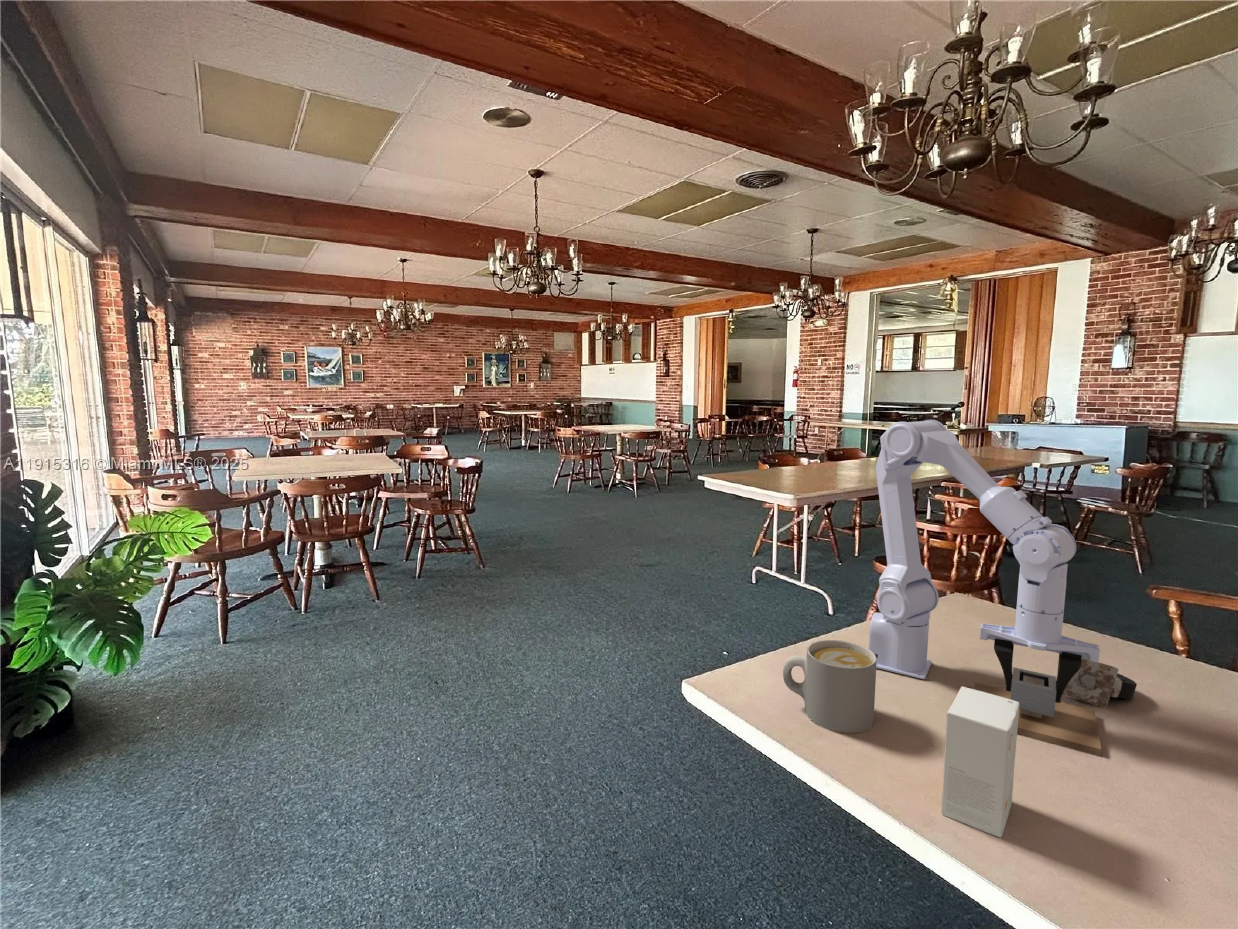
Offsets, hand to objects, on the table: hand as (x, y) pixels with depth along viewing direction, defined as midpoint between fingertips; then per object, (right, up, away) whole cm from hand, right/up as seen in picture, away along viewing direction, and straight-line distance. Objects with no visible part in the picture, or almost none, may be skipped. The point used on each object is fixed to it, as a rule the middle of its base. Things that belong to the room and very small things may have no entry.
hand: (1032, 694), depth 91 cm
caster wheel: (+15, -3, +8) cm, 17 cm away
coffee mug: (-30, -4, +3) cm, 30 cm away
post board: (0, -4, 0) cm, 4 cm away
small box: (-19, -7, -19) cm, 28 cm away
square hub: (0, -2, 0) cm, 2 cm away
